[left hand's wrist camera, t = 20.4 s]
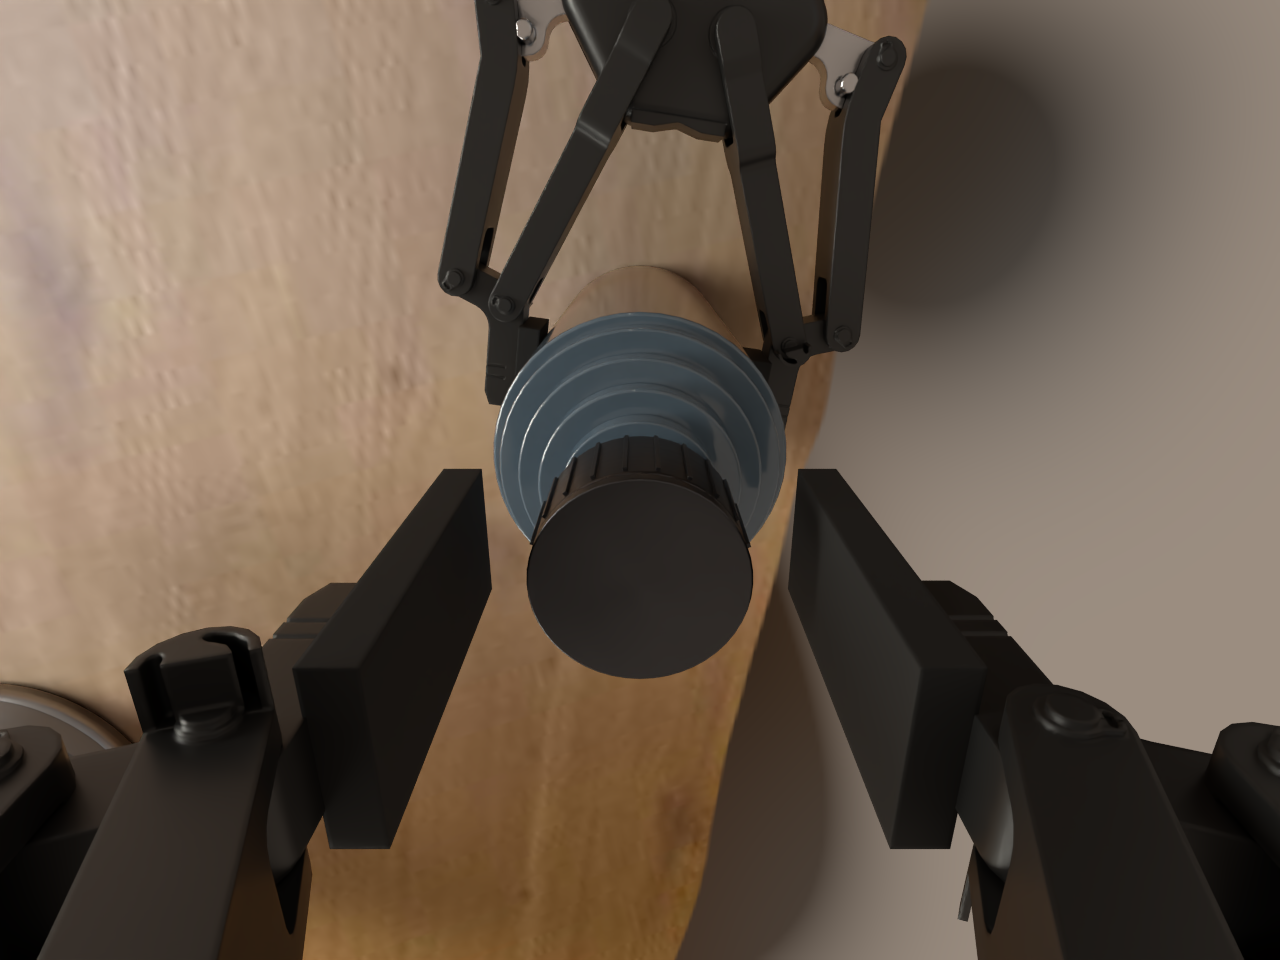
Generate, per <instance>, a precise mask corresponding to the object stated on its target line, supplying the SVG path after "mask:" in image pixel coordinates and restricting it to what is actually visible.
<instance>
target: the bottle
mask: <svg viewBox="0 0 1280 960" xmlns="http://www.w3.org/2000/svg"><path fill="white" fill-rule="evenodd" d="M624 435H629V437H632V436H648V437H654V435H657V436H658V438H662V439H667V440H670V441H673V442H676V443H679V444H681V445H682V443H684V444H686V446H687V448H689V449H691V450H693V451H694V452H696V453H697V454H699V455H700V456H702V457H703V458H704V459H705V460H706V459H707V458H708V459H709V460H710V462H711V465H712V466H713V467H714V469H715V470H716V471H717V472H718V473H719V475H720V476H721V478H722V479H723V480H724V479H726V480H727V482H728V485H729V488H730V491H731V494H732V497H733V500H734V503H737V506H738V509H739V512H740V515H741V518H742V521H743V524H744V527H745V530H746V533H747V536H748V539H749V542H750V541H751V540H752V539H753V538H754V536H755V535H756V534H757V533H758V531H759V530H760V529H761V528H762V526H763V525H764V523H765V521H766V520H767V518H768V516H769V515H770V513H771V511H772V509H773V507H774V504H775V502H776V500H777V498H778V495H779V492H780V488H781V485H782V482H783V478H784V471H785V464H786V437H785V429H784V423H783V419H782V416H781V412H780V409H779V406H778V403H777V401H776V399H775V396H774V394H773V392H772V389H771V388H770V386H769V384H768V383H767V381H766V380H765V378H764V376H763V375H762V373H761V372H760V370H759V369H758V368H757V366H756V365H755V364H754V362H753V361H752V360H751V358H750V357H749V356H748V354H747V353H746V352H745V350H744V349H743V348H742V346H741V345H740V344H739V342H738V341H737V340H736V338H735V337H734V336H733V334H732V333H731V332H730V330H729V329H728V328H727V326H726V325H725V324H724V322H723V321H722V320H721V319H720V317H719V316H718V315H717V313H716V312H715V311H714V309H713V308H712V307H711V305H710V304H709V303H708V301H707V300H706V299H705V297H704V296H703V295H702V294H701V293H700V291H699V290H698V289H696V288H695V287H694V286H693V285H692V284H691V283H690V282H688V281H687V280H685V279H684V278H682V277H681V276H679V275H677V274H675V273H673V272H670V271H667V270H665V269H662V268H657V267H652V266H628V267H623V268H618V269H615V270H612V271H610V272H607V273H605V274H603V275H601V276H599V277H597V278H596V279H595V280H593V281H592V282H590V283H589V284H588V285H587V286H586V287H585V288H583V289H582V290H581V291H580V292H579V294H578V295H577V296H576V297H575V299H574V300H573V301H572V302H571V304H570V305H569V306H568V308H567V309H566V310H565V312H564V313H563V314H562V316H561V317H560V318H559V320H558V321H557V322H556V324H555V325H554V326H553V328H552V329H551V330H550V332H549V333H548V334H547V336H546V337H545V338H544V340H543V341H542V342H541V344H540V345H539V346H538V348H537V349H536V350H535V351H534V353H533V354H532V355H531V357H530V358H529V359H528V361H527V362H526V363H525V365H524V366H523V367H522V369H521V370H520V371H519V373H518V374H517V376H516V378H515V379H514V381H513V382H512V384H511V386H510V387H509V389H508V391H507V394H506V396H505V398H504V401H503V403H502V405H501V408H500V412H499V415H498V419H497V422H496V428H495V436H494V465H495V472H496V479H497V482H498V486H499V489H500V492H501V496H502V498H503V500H504V503H505V505H506V507H507V509H508V512H509V513H510V515H511V517H512V518H513V520H514V522H515V523H516V525H517V526H518V528H519V529H520V530H521V532H522V533H523V534H524V535H525V537H526V538H527V539H528V540H529V542H530V541H531V538H532V535H533V532H534V529H535V526H536V523H537V520H538V517H539V514H540V511H541V508H542V505H543V502H544V501H547V498H548V495H549V492H550V489H551V486H552V483H553V480H554V478H555V477H557V478H558V477H559V476H560V474H561V473H562V472H563V471H564V469H565V468H566V467H567V466H568V465H569V464H570V463H571V460H572V458H573V457H574V456H575V457H576V458H577V457H578V456H579V455H581V454H582V453H584V452H585V451H587V450H589V449H591V448H593V447H595V446H596V443H598V442H600V443H604V442H607V441H609V440H613V439H618V438H623V437H624Z"/></svg>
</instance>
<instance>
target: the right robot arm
mask: <svg viewBox="0 0 1280 960" xmlns="http://www.w3.org/2000/svg"><path fill="white" fill-rule="evenodd" d="M474 2H475V10H476V19H477V28H478V37H479V45H480V54H481V57H480V62H479V67H478V72H477V77H476V82H475V87H474V92H473V97H472V102H471V107H470V112H469V117H468V123H467V128H466V133H465V138H464V143H463V148H462V153H461V158H460V163H459V168H458V173H457V178H456V183H455V188H454V193H453V199H452V204H451V209H450V214H449V219H448V224H447V229H446V234H445V239H444V244H443V249H442V254H441V259H440V264H439V269H438V282H439V285H440V287H441V288H442V289H443V291H444V292H445V293H447V294H449V295H451V296H459V297H461V298H463V299H465V300H466V301H468V302H470V303H472V304H474V305H476V306H477V307H479V308H480V309H481V310H482V311H483V312H484V313H485V315H486V317H487V319H488V323H489V334H488V349H487V366H486V379H485V393H486V396H487V399H488V402H489V404H493V405H500V406H501V405H502V403H503V401H504V398H505V396H506V394H507V391H508V389H509V387H510V386H511V384H512V382H513V381H514V379H515V378H516V376H517V374H518V373H519V371H520V370H521V369H522V367H523V366H524V365H525V363H526V362H527V361H528V359H529V358H530V357H531V355H532V354H533V353H534V351H535V350H536V349H537V348H538V346H539V345H540V344H541V342H542V341H543V340H544V338H545V337H546V336H547V334H548V324H549V319H543V318H536V317H529V307H530V306H531V305H532V304H533V303H532V301H533V299H534V298H535V296H536V294H537V292H538V290H539V288H540V286H541V284H542V282H543V281H544V279H545V277H546V275H547V273H548V271H549V269H550V267H551V265H552V263H553V262H554V260H555V258H556V256H557V254H558V252H559V250H560V248H561V246H562V245H563V243H564V241H565V239H566V237H567V235H568V233H569V231H570V229H571V228H572V226H573V224H574V222H575V220H576V218H577V216H578V214H579V212H580V211H581V209H582V207H583V205H584V203H585V201H586V199H587V197H588V195H589V194H590V192H591V190H592V188H593V186H594V184H595V182H596V180H597V178H598V177H599V175H600V173H601V171H602V169H603V167H604V165H605V163H606V161H607V160H608V158H609V156H610V154H611V153H612V151H613V150H614V148H615V146H616V144H617V143H618V141H619V139H620V137H621V135H622V133H623V131H624V130H625V128H626V126H627V124H628V125H630V126H631V128H632V129H636V130H642V131H649V132H658V131H665V130H673V129H676V130H679V131H681V132H683V133H685V134H687V135H689V136H691V137H693V138H696V139H699V140H705V141H712V142H719V141H720V140H722V141H723V146H724V152H725V157H726V161H727V165H728V168H729V171H730V174H731V178H732V183H733V188H734V194H735V199H736V204H737V209H738V214H739V219H740V224H741V229H742V234H743V240H744V245H745V250H746V255H747V260H748V265H749V270H750V275H751V280H752V286H753V291H754V296H755V301H756V306H757V311H758V316H759V321H760V326H761V332H762V337H763V340H764V343H763V348H762V351H761V350H758V349H751V348H744V347H742V348H743V349H744V350H745V352H746V353H747V354H748V356H749V357H750V358H751V360H752V361H753V362H754V364H755V365H756V366H757V368H758V369H759V370H760V372H761V373H762V375H763V376H764V378H765V380H766V381H767V383H768V384H769V386H770V388H771V389H772V392H773V394H774V396H775V399H776V401H777V403H778V406H779V409H780V412H781V416H782V419H783V423H784V429H785V426H786V422H787V416H788V413H789V409H790V404H791V400H792V395H793V391H794V387H795V382H796V378H797V373H798V370H799V367H800V366H801V365H803V364H804V363H805V362H806V361H807V360H808V359H809V357H810V356H813V355H816V354H821V353H826V352H831V351H838V352H845V351H849V350H850V349H852V348H853V347H854V346H855V345H856V344H857V343H858V340H859V337H860V330H861V320H862V310H863V300H864V289H865V279H866V269H867V259H868V249H869V238H870V228H871V218H872V208H873V197H874V187H875V177H876V167H877V156H878V146H879V136H880V125H881V120H882V117H883V115H884V113H885V110H886V108H887V106H888V103H889V101H890V98H891V96H892V94H893V91H894V89H895V87H896V84H897V82H898V80H899V77H900V75H901V72H902V70H903V68H904V65H905V61H906V48H905V46H904V45H903V43H902V41H900V40H899V39H898V38H896V37H892V36H887V37H883V38H881V39H879V40H878V41H876V42H871V41H869V40H866V39H864V38H862V37H859V36H857V35H855V34H852V33H850V32H847V31H845V30H843V29H840V28H838V27H835V26H833V25H831V24H828V23H827V22H828V18H827V10H826V6H825V3H824V0H474ZM562 22H569V24H570V26H571V28H572V30H573V32H574V34H575V36H576V38H577V40H578V42H579V44H580V47H581V49H582V51H583V53H584V55H585V57H586V59H587V61H588V63H589V65H590V67H591V69H592V71H593V74H594V76H595V78H596V80H597V81H596V83H595V85H594V87H593V89H592V91H591V93H590V95H589V97H588V99H587V101H586V103H585V105H584V107H583V109H582V111H581V113H580V115H579V118H578V120H577V123H576V126H575V129H574V131H573V133H572V135H571V137H570V139H569V141H568V143H567V145H566V147H565V149H564V151H563V153H562V155H561V157H560V159H559V161H558V163H557V165H556V167H555V169H554V171H553V172H552V174H551V176H550V178H549V180H548V182H547V184H546V186H545V188H544V190H543V192H542V194H541V196H540V198H539V200H538V202H537V204H536V206H535V208H534V210H533V212H532V214H531V216H530V218H529V220H528V222H527V224H526V226H525V228H524V230H523V232H522V234H521V236H520V238H519V240H518V242H517V244H516V246H515V248H514V249H513V251H512V253H511V255H510V257H509V259H508V261H507V263H506V265H505V267H504V269H503V271H502V273H501V274H500V273H499V272H497V271H495V270H493V269H491V268H489V267H488V266H489V261H490V257H491V252H492V248H493V243H494V239H495V234H496V230H497V225H498V221H499V216H500V212H501V207H502V203H503V198H504V194H505V189H506V185H507V180H508V176H509V171H510V167H511V162H512V158H513V153H514V149H515V144H516V140H517V135H518V130H519V126H520V121H521V117H522V112H523V108H524V103H525V99H526V93H527V87H528V79H529V61H536V60H539V59H540V58H542V57H543V56H544V54H545V53H546V51H547V49H548V44H549V38H550V34H551V32H552V30H553V29H554V28H555V26H557V25H558V24H560V23H562ZM808 62H810V63H811V64H813V65H814V66H815V67H816V68H817V69H818V72H819V74H820V80H821V82H820V89H819V97H820V100H821V103H822V104H823V105H824V107H826V108H827V109H829V110H831V113H830V116H829V120H828V124H827V129H826V135H825V143H824V155H823V169H822V183H821V197H820V211H819V224H818V238H817V252H816V266H815V280H814V294H813V307H812V315H810V316H805V317H802V311H801V305H800V300H799V294H798V288H797V282H796V277H795V271H794V265H793V259H792V254H791V248H790V242H789V236H788V231H787V225H786V219H785V213H784V208H783V202H782V196H781V190H780V185H779V179H778V173H777V167H776V159H775V158H776V145H775V138H774V133H773V127H772V121H771V115H770V109H769V104H770V103H771V102H772V101H773V100H774V99H775V98H776V97H777V95H778V94H779V93H780V92H781V91H782V90H783V89H784V88H785V87H786V86H787V85H788V83H789V82H790V81H791V80H792V79H793V78H794V77H795V76H796V75H797V74H798V73H799V71H800V70H801V69H802V68H803V67H804V66H805V65H806V64H807V63H808ZM528 317H529V318H528Z"/></svg>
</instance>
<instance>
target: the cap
mask: <svg viewBox="0 0 1280 960" xmlns="http://www.w3.org/2000/svg"><path fill="white" fill-rule="evenodd" d="M530 544H531V545H533V546H532V550H531V553H530V556H529V560H528V566H527V590H528V597H529V600H530V604H531V607H532V610H533V613H534V615H535V617H536V619H537V621H538V623H539V625H540V626H541V628H542V629H543V631H544V633H545V634H546V635H547V636H548V637H549V639H550V640H551V641H552V642H553V643H554V644H555V645H556V646H557V647H558V648H559V649H560V650H561V651H562V652H563V653H565V654H566V655H568V656H569V657H570V658H572V659H573V660H575V661H576V662H578V663H580V664H582V665H584V666H586V667H588V668H590V669H593V670H595V671H598V672H601V673H604V674H608V675H611V676H617V677H623V678H634V679H646V678H657V677H663V676H669V675H672V674H676V673H679V672H682V671H685V670H687V669H690V668H692V667H694V666H696V665H698V664H700V663H702V662H703V661H705V660H707V659H708V658H709V657H711V656H712V655H714V654H715V653H716V652H717V651H719V650H720V649H721V648H722V647H723V646H724V645H725V644H726V643H727V642H728V641H729V640H730V638H731V637H732V636H733V635H734V634H735V632H736V631H737V629H738V627H739V626H740V624H741V623H742V621H743V619H744V616H745V614H746V612H747V610H748V607H749V603H750V600H751V595H752V588H753V568H752V562H751V557H750V554H749V550H748V548H749V547H751V545H750V542H749V539H748V536H747V533H746V530H745V527H744V524H743V521H742V518H741V515H740V512H739V509H738V506H737V503H734V500H733V497H732V494H731V491H730V488H729V485H728V482H727V480H726V479H724V480H723V479H722V478H721V476H720V475H719V473H718V472H717V471H716V470H715V469H714V467H713V466H712V465H711V462H710V460H709V459H708V458H707V459H706V460H705V459H704V458H703V457H702V456H700V455H699V454H697V453H696V452H694V451H693V450H691V449H689V448H687V446H686V444H684V443H682V445H681V444H679V443H676V442H673V441H670V440H667V439H662V438H658V436H657V435H654V437H648V436H632V437H629V435H624V437H623V438H618V439H613V440H609V441H607V442H604V443H600V442H598V443H596V446H595V447H593V448H591V449H589V450H587V451H585V452H584V453H582V454H581V455H579V456H578V457H577V458H576V457H575V456H574V457H573V458H572V460H571V463H570V464H569V465H568V466H567V467H566V468H565V469H564V471H563V472H562V473H561V474H560V476H559V477H558V478H557V477H555V478H554V480H553V483H552V486H551V489H550V492H549V495H548V498H547V501H544V502H543V505H542V508H541V511H540V514H539V517H538V520H537V523H536V526H535V529H534V532H533V535H532V538H531V541H530Z"/></svg>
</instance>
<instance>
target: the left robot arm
mask: <svg viewBox="0 0 1280 960" xmlns="http://www.w3.org/2000/svg"><path fill="white" fill-rule="evenodd" d="M491 590H492V584H491V572H490V560H489V549H488V537H487V525H486V513H485V502H484V490H483V478H482V469H443V471H442V472H441V473H440V475H439V476H438V477H437V479H436V480H435V481H434V483H433V484H432V485H431V486H430V488H429V489H428V490H427V492H426V493H425V494H424V496H423V497H422V498H421V500H420V501H419V502H418V503H417V505H416V506H415V507H414V509H413V510H412V511H411V513H410V514H409V515H408V517H407V518H406V519H405V521H404V522H403V523H402V524H401V526H400V527H399V528H398V530H397V531H396V532H395V534H394V535H393V536H392V538H391V539H390V540H389V542H388V543H387V544H386V545H385V547H384V548H383V549H382V551H381V552H380V553H379V555H378V556H377V557H376V559H375V560H374V561H373V562H372V564H371V565H370V566H369V568H368V569H367V570H366V572H365V573H364V574H363V576H362V577H361V578H360V580H359V581H358V582H357V583H330V584H328V585H327V586H325V587H323V588H322V589H320V590H318V591H317V592H315V593H313V594H312V595H310V596H308V597H307V598H305V599H304V600H303V601H302V602H301V603H300V604H299V605H298V607H297V608H296V609H295V610H294V611H293V612H292V613H291V615H290V616H289V617H288V618H287V622H284V623H283V624H282V625H281V626H280V627H279V628H278V630H277V631H276V632H275V633H274V634H273V639H269V640H268V641H267V642H266V643H265V645H264V646H263V647H262V646H261V642H260V637H259V636H257V635H256V634H255V633H253V632H252V631H250V630H249V629H244V628H238V627H233V626H226V627H211V628H204V629H200V630H196V631H192V632H188V633H183V634H180V635H178V636H176V637H173V638H171V639H168V640H166V641H163V642H161V643H158V644H156V645H155V646H153V647H152V648H150V649H148V650H147V651H145V652H144V653H142V654H140V655H139V656H137V657H136V658H135V659H134V660H133V661H132V663H131V664H130V665H129V666H128V667H127V668H126V669H125V670H124V673H125V677H126V680H127V683H128V686H129V689H130V693H131V696H132V699H133V702H134V705H135V709H136V712H137V715H138V718H139V721H140V725H141V728H142V731H143V735H142V737H141V739H140V741H139V742H137V743H134V744H131V743H130V742H129V741H128V740H127V739H126V738H125V737H124V736H123V735H122V734H121V733H120V732H119V731H117V730H116V729H115V728H114V727H113V726H111V725H110V724H109V723H107V722H106V721H104V720H103V719H102V718H100V717H98V716H97V715H95V714H94V713H92V712H90V711H89V710H87V709H85V708H83V707H81V706H79V705H77V704H75V703H73V702H71V701H69V700H66V699H64V698H62V697H59V696H56V695H53V694H51V693H47V692H44V691H41V690H37V689H33V688H28V687H24V686H17V685H10V684H0V960H302V958H303V949H304V941H305V932H306V923H307V915H308V906H309V897H310V889H311V880H312V870H311V864H310V858H309V854H308V849H307V844H308V842H309V841H310V839H311V837H312V835H313V833H314V831H315V829H316V827H317V825H318V823H319V822H320V820H321V818H322V816H323V818H324V823H325V828H326V833H327V837H328V842H329V847H330V849H390V847H391V845H392V842H393V839H394V837H395V834H396V832H397V829H398V827H399V824H400V822H401V819H402V817H403V814H404V811H405V809H406V806H407V804H408V801H409V799H410V796H411V794H412V791H413V789H414V786H415V783H416V781H417V778H418V776H419V773H420V771H421V768H422V766H423V763H424V761H425V758H426V755H427V753H428V750H429V748H430V745H431V743H432V740H433V738H434V735H435V733H436V730H437V727H438V725H439V722H440V720H441V717H442V715H443V712H444V710H445V707H446V705H447V702H448V699H449V697H450V694H451V692H452V689H453V687H454V684H455V682H456V679H457V676H458V674H459V671H460V669H461V666H462V664H463V661H464V659H465V656H466V654H467V651H468V648H469V646H470V643H471V641H472V638H473V636H474V633H475V631H476V628H477V626H478V623H479V620H480V618H481V615H482V613H483V610H484V608H485V605H486V603H487V600H488V598H489V595H490V592H491ZM788 590H789V592H790V595H791V598H792V600H793V603H794V605H795V608H796V610H797V613H798V615H799V618H800V620H801V623H802V625H803V628H804V631H805V633H806V636H807V638H808V641H809V643H810V646H811V648H812V651H813V653H814V656H815V659H816V661H817V664H818V666H819V669H820V671H821V674H822V676H823V679H824V682H825V684H826V686H827V689H828V692H829V694H830V697H831V699H832V702H833V704H834V707H835V710H836V712H837V715H838V717H839V720H840V722H841V725H842V727H843V730H844V733H845V735H846V737H847V740H848V743H849V745H850V748H851V750H852V753H853V755H854V758H855V760H856V763H857V766H858V768H859V770H860V773H861V776H862V778H863V781H864V783H865V786H866V788H867V791H868V793H869V796H870V799H871V801H872V804H873V806H874V809H875V811H876V814H877V817H878V819H879V822H880V824H881V827H882V829H883V832H884V834H885V837H886V839H887V842H888V845H889V847H890V849H950V847H951V842H952V837H953V833H954V828H955V823H956V818H957V814H959V816H960V818H961V820H962V822H963V824H964V826H965V827H966V829H967V831H968V833H969V835H970V837H971V839H972V841H973V843H974V845H973V849H972V854H971V858H970V862H969V867H968V871H967V876H966V880H965V885H964V889H963V893H962V898H961V902H960V908H959V914H958V919H960V920H963V921H968V918H969V913H970V909H971V906H972V913H973V921H974V930H975V939H976V947H977V956H978V960H1280V726H1274V725H1268V724H1262V723H1255V722H1247V723H1236V724H1231V725H1229V726H1228V727H1226V728H1225V729H1223V730H1222V731H1220V734H1219V737H1218V739H1217V742H1216V745H1215V748H1214V750H1213V753H1212V754H1209V753H1204V752H1199V751H1194V750H1189V749H1185V748H1180V747H1175V746H1170V745H1165V744H1160V743H1156V742H1151V741H1147V740H1143V739H1140V738H1139V736H1138V734H1137V732H1136V731H1135V729H1134V728H1133V727H1132V725H1131V724H1130V723H1129V721H1128V720H1127V719H1126V718H1125V717H1124V716H1123V715H1122V714H1120V713H1119V712H1118V711H1116V710H1115V709H1113V708H1112V707H1111V706H1109V705H1108V704H1107V703H1105V702H1103V701H1101V700H1099V699H1097V698H1094V697H1092V696H1090V695H1088V694H1086V693H1084V692H1081V691H1078V690H1074V689H1070V688H1067V687H1063V686H1059V685H1053V684H1052V683H1051V681H1050V680H1049V679H1048V678H1047V677H1046V676H1045V675H1044V673H1043V672H1042V671H1041V670H1040V669H1039V668H1038V667H1037V665H1036V664H1035V663H1034V662H1033V661H1032V660H1031V659H1030V657H1029V656H1028V655H1027V654H1026V653H1025V652H1024V651H1023V649H1022V648H1021V647H1020V646H1019V645H1018V644H1017V643H1016V641H1015V640H1014V639H1013V638H1012V637H1011V636H1008V635H1007V631H1006V630H1005V629H1004V628H1003V626H1002V625H1001V624H1000V623H999V622H998V621H997V620H994V619H993V615H992V614H991V613H990V612H989V610H988V609H987V608H986V607H985V606H984V605H983V604H982V602H981V601H980V600H979V599H978V598H977V597H976V596H974V595H973V594H971V593H969V592H968V591H966V590H964V589H963V588H961V587H959V586H958V585H956V584H954V583H953V582H951V581H921V580H920V578H919V577H918V576H917V574H916V573H915V572H914V570H913V569H912V568H911V566H910V565H909V564H908V563H907V561H906V560H905V559H904V557H903V556H902V555H901V553H900V552H899V551H898V549H897V548H896V547H895V546H894V544H893V543H892V542H891V540H890V539H889V538H888V536H887V535H886V534H885V532H884V531H883V530H882V528H881V527H880V526H879V525H878V523H877V522H876V521H875V519H874V518H873V517H872V515H871V514H870V513H869V511H868V510H867V509H866V507H865V506H864V505H863V503H862V502H861V501H860V500H859V498H858V497H857V496H856V494H855V493H854V492H853V490H852V489H851V488H850V486H849V485H848V484H847V483H846V481H845V480H844V479H843V477H842V476H841V475H840V473H839V472H838V471H837V470H836V469H798V478H797V490H796V502H795V514H794V525H793V537H792V549H791V560H790V572H789V584H788Z"/></svg>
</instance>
